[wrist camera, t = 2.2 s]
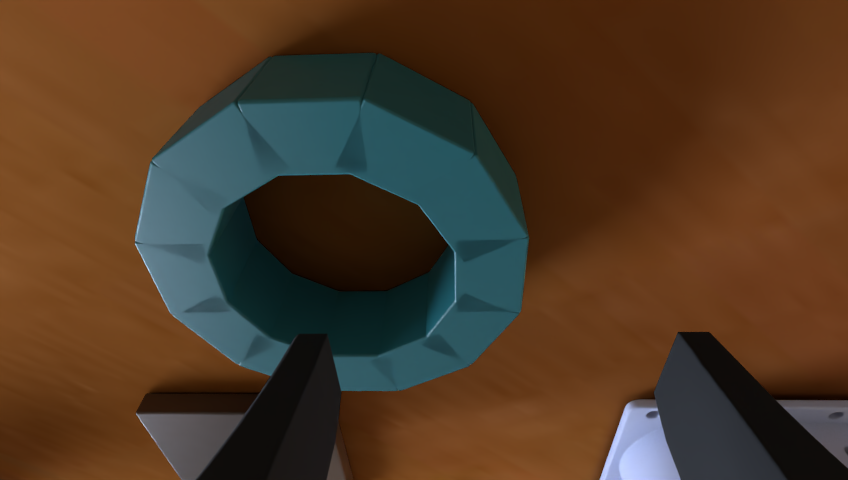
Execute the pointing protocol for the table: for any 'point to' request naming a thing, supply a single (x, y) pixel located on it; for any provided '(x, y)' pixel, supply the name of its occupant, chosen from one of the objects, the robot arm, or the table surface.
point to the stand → (208, 429)
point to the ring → (331, 155)
